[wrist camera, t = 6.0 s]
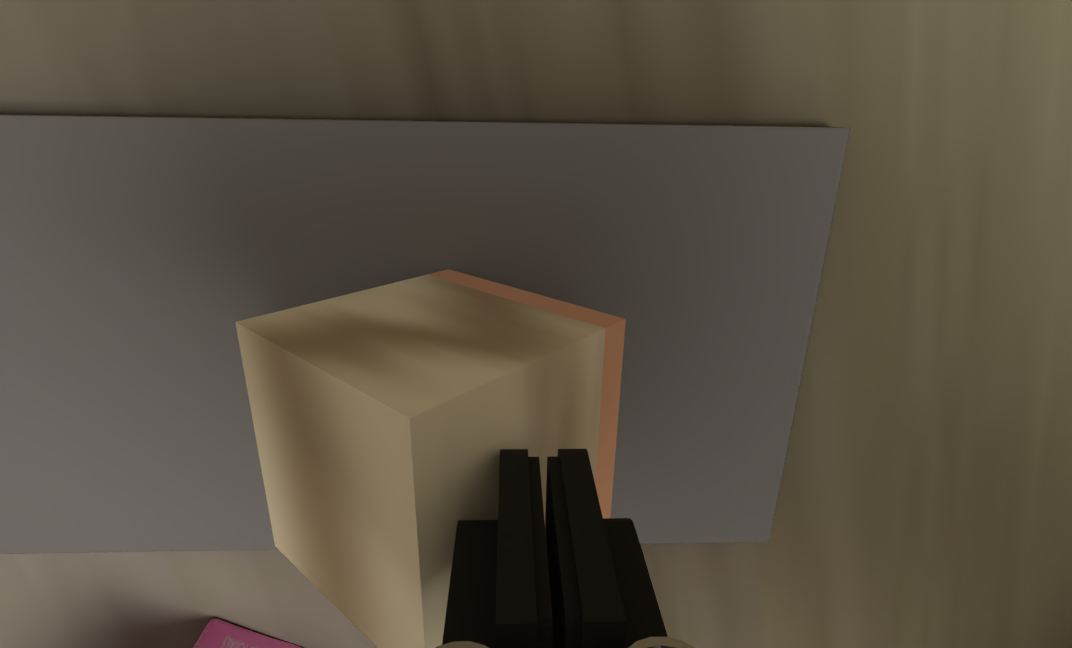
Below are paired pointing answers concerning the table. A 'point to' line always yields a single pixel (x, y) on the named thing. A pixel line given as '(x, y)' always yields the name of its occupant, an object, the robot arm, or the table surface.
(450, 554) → the maple cube
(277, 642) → the gum box
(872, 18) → the table surface
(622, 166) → the rubber mat
